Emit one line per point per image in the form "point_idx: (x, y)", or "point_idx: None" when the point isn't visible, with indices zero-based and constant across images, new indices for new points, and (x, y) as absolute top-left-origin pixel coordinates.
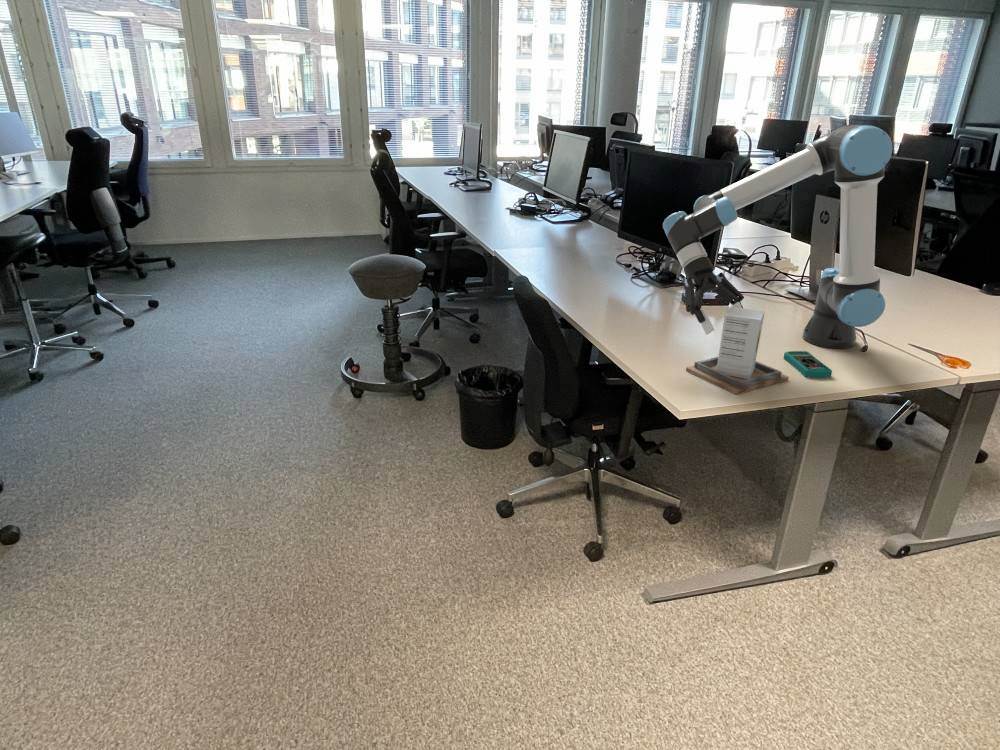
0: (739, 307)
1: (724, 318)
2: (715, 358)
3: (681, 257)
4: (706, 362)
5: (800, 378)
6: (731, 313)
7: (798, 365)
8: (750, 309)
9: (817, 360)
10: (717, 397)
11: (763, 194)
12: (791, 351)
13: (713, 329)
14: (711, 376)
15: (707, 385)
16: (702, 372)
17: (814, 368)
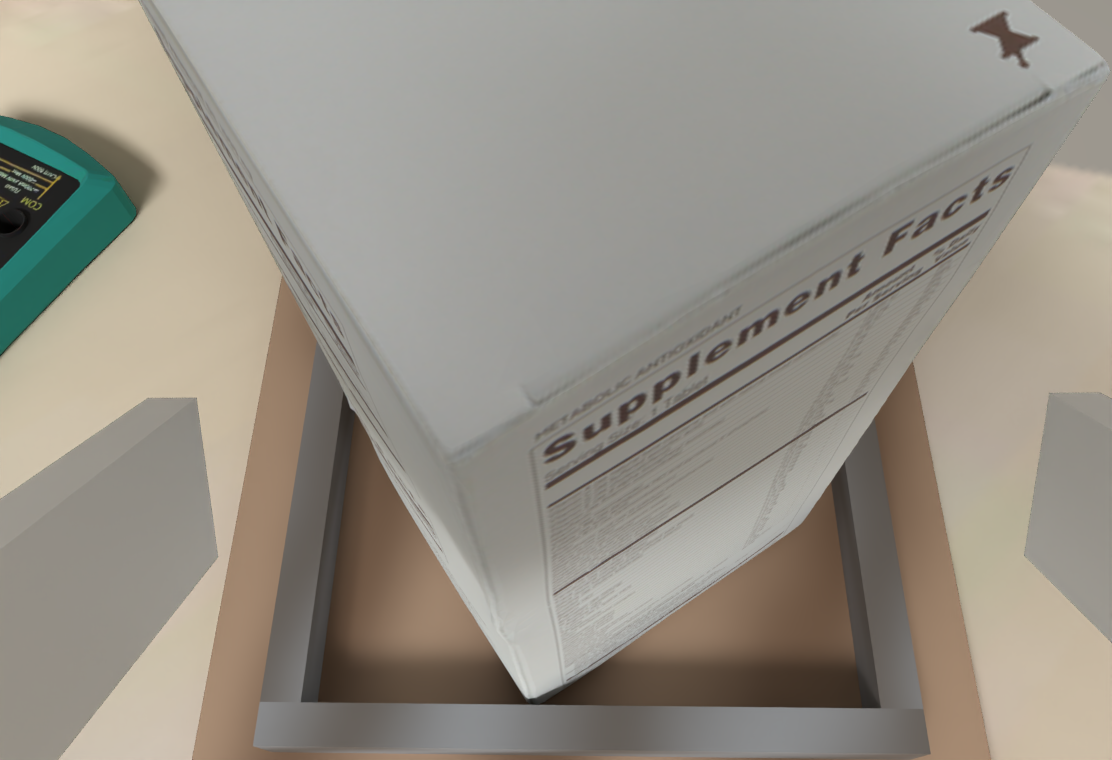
0: (6, 561)
1: (1079, 116)
2: (617, 721)
3: None
4: (772, 710)
5: (192, 215)
6: (896, 67)
7: (17, 293)
8: (236, 98)
9: None
10: (1040, 260)
11: None
12: None
13: (1073, 395)
14: (887, 494)
15: (982, 439)
16: (910, 606)
17: (25, 173)
